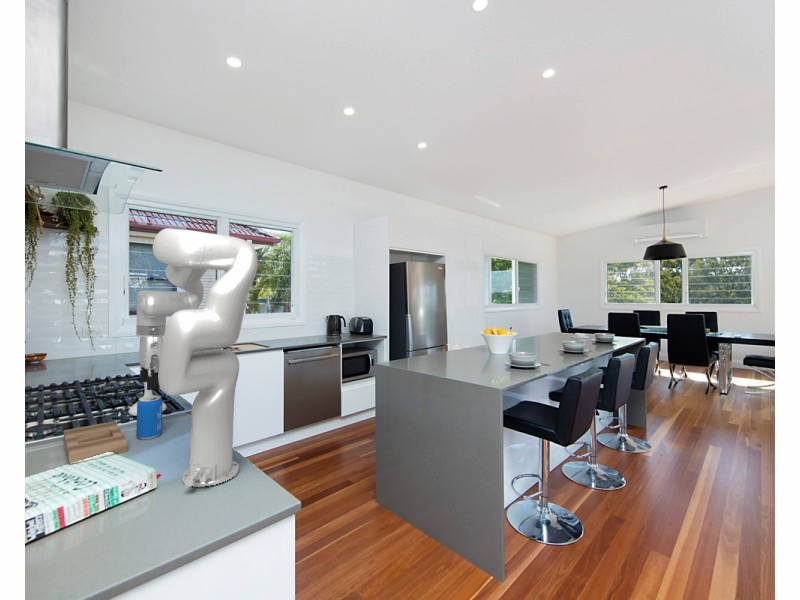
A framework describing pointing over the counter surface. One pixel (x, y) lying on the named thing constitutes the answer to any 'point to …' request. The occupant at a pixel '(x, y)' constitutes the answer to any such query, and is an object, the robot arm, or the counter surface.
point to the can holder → (93, 441)
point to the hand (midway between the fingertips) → (149, 385)
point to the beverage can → (149, 417)
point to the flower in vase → (147, 393)
